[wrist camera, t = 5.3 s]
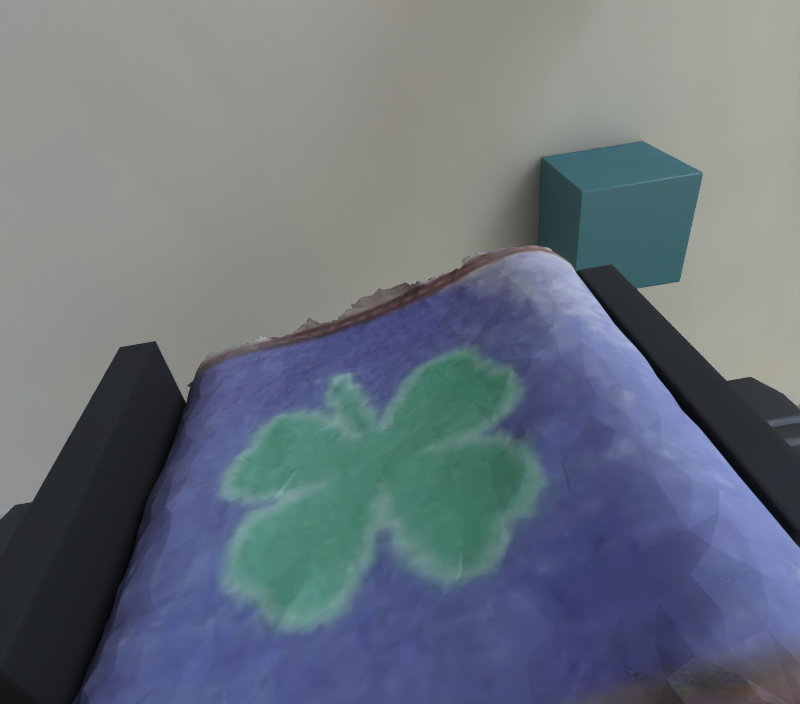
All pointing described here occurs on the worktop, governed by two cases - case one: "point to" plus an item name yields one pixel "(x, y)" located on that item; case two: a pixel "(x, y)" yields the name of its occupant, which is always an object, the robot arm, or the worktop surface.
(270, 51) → the worktop surface
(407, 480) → the flask
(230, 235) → the worktop surface
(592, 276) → the robot arm
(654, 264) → the block
